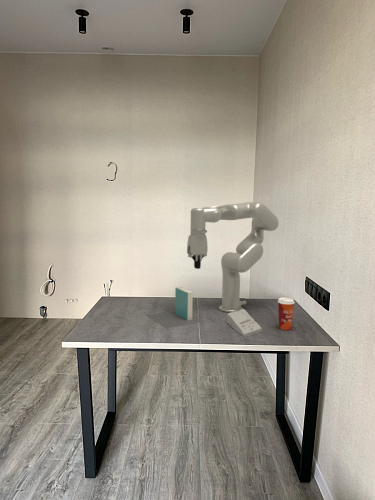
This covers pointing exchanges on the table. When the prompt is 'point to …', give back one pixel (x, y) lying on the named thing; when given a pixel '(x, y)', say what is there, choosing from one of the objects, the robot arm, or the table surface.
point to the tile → (183, 303)
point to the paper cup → (285, 313)
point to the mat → (172, 319)
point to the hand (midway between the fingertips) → (197, 268)
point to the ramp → (243, 323)
